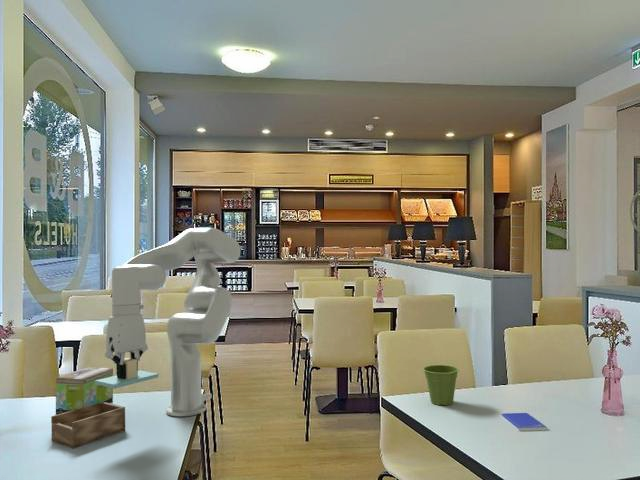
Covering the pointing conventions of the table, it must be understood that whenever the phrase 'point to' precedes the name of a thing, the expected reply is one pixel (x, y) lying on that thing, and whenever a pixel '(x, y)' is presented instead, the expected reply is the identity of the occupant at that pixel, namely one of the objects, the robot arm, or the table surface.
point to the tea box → (82, 389)
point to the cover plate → (127, 376)
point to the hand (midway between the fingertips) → (127, 376)
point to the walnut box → (87, 424)
